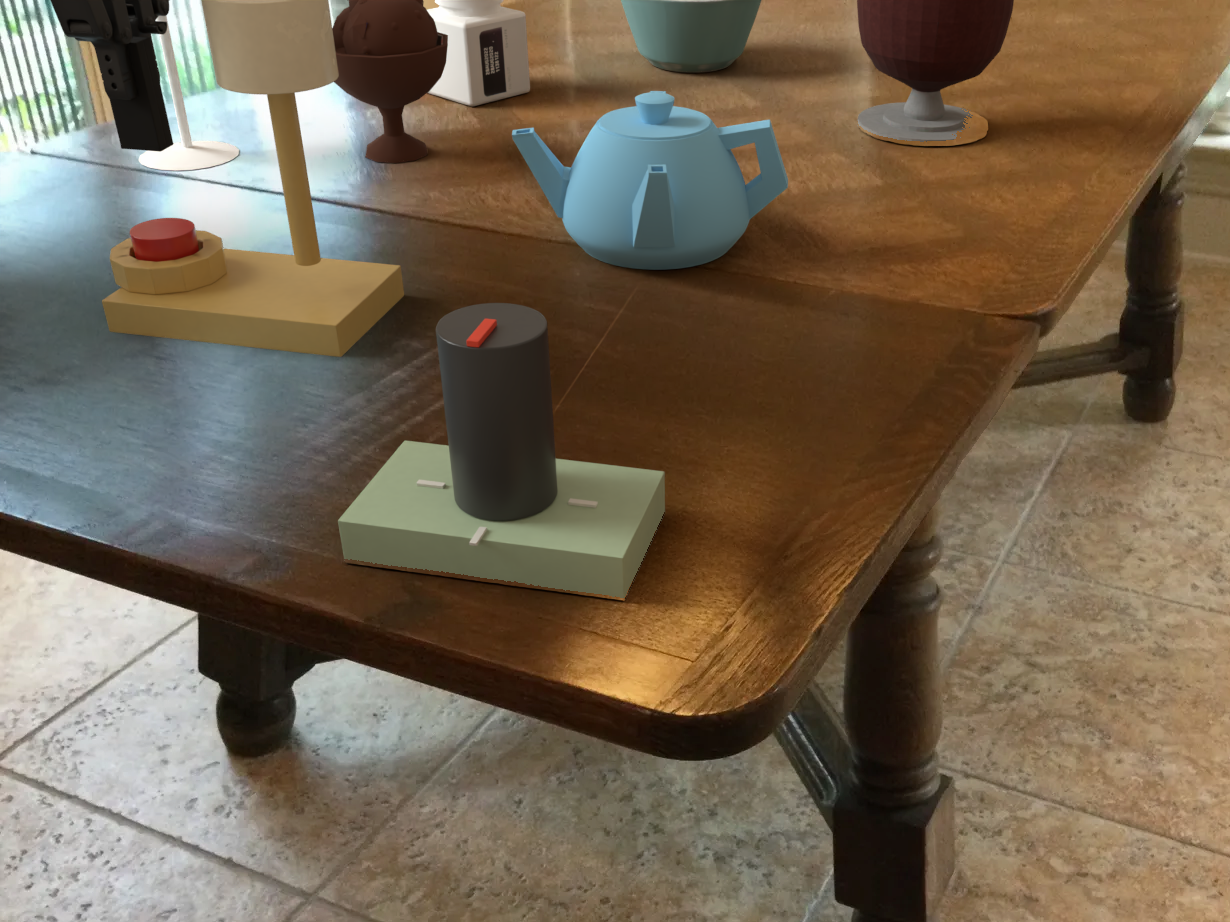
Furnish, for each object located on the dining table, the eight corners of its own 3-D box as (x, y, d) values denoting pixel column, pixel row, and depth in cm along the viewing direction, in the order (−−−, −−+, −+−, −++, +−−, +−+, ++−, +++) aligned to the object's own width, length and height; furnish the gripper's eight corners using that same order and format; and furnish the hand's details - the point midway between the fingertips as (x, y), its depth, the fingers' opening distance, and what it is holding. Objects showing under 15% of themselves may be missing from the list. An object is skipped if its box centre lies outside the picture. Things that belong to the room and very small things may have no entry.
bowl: (738, 88, 137) (740, 2, 132) (595, 73, 141) (592, -10, 136) (780, 52, 150) (783, -27, 145) (647, 39, 153) (646, -38, 149)
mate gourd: (904, 158, 119) (926, -90, 108) (820, 117, 129) (833, -113, 118) (1041, 135, 125) (1076, -101, 114) (951, 98, 135) (975, -122, 124)
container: (532, 92, 135) (523, -48, 127) (471, 108, 130) (459, -37, 123) (482, 78, 139) (471, -58, 132) (421, 92, 134) (406, -48, 127)
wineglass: (216, 133, 122) (164, -137, 110) (260, 159, 116) (211, -123, 104) (118, 150, 117) (53, -129, 105) (159, 179, 111) (95, -114, 99)
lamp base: (88, 330, 87) (73, 271, 85) (172, 272, 95) (160, 217, 93) (341, 357, 84) (331, 297, 82) (404, 295, 92) (397, 239, 90)
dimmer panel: (339, 570, 65) (331, 524, 63) (414, 475, 72) (408, 431, 71) (620, 609, 62) (619, 562, 61) (668, 506, 70) (667, 462, 68)
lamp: (230, 277, 84) (175, -2, 75) (283, 237, 90) (238, -26, 81) (334, 287, 83) (291, 6, 74) (381, 247, 89) (347, -19, 80)
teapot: (651, 299, 92) (649, 142, 86) (511, 241, 101) (501, 95, 95) (797, 242, 101) (804, 97, 95) (658, 194, 110) (657, 58, 104)
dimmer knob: (475, 463, 68) (458, 291, 63) (570, 474, 67) (560, 301, 62) (438, 514, 64) (417, 335, 59) (539, 527, 63) (526, 346, 58)
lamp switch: (122, 262, 87) (116, 236, 86) (156, 240, 90) (151, 215, 89) (179, 267, 86) (173, 241, 85) (211, 245, 90) (206, 220, 89)
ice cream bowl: (318, 144, 120) (291, -37, 111) (439, 129, 124) (422, -46, 116) (348, 179, 112) (322, -12, 104) (477, 162, 116) (461, -23, 108)
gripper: (32, -292, 65) (144, 184, 78) (175, -299, 76) (253, 121, 89) (-103, -294, 67) (29, 175, 80) (57, -301, 77) (150, 113, 90)
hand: (147, 146), depth 84 cm, fingers closed
